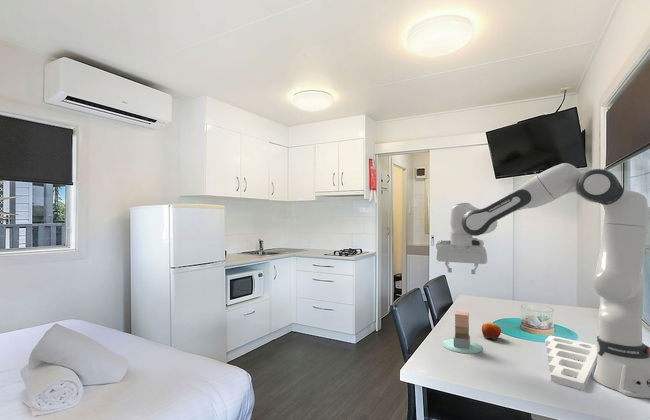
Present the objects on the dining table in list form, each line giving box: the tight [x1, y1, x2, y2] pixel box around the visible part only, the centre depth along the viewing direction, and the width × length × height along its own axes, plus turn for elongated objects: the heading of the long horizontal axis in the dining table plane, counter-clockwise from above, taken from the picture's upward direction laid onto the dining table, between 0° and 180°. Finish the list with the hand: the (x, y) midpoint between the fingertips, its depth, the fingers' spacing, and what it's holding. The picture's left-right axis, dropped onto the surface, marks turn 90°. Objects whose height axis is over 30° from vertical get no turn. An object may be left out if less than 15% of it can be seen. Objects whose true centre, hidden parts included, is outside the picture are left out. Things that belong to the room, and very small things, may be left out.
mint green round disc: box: [441, 335, 484, 355], centre depth 145 cm, size 16×16×4 cm
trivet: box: [544, 335, 598, 391], centre depth 131 cm, size 45×18×3 cm, turn 135°
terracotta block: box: [454, 310, 470, 328], centre depth 146 cm, size 5×5×5 cm
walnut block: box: [454, 324, 470, 340], centre depth 146 cm, size 5×5×5 cm
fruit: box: [481, 322, 502, 341], centre depth 155 cm, size 8×8×8 cm
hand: (461, 273), depth 146 cm, fingers open, 8 cm apart
